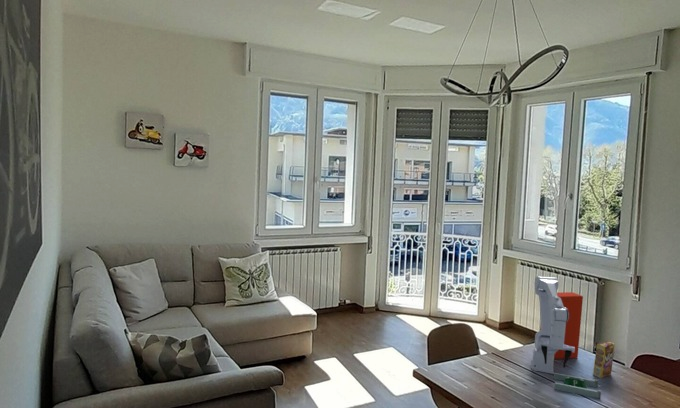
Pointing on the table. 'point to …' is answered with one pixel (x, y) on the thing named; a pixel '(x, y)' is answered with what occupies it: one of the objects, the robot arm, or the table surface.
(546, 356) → the robot arm
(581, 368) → the table surface
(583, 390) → the pair of grey bars
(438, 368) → the table surface
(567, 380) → the dark green curved piece
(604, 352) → the candy box
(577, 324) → the file binder
